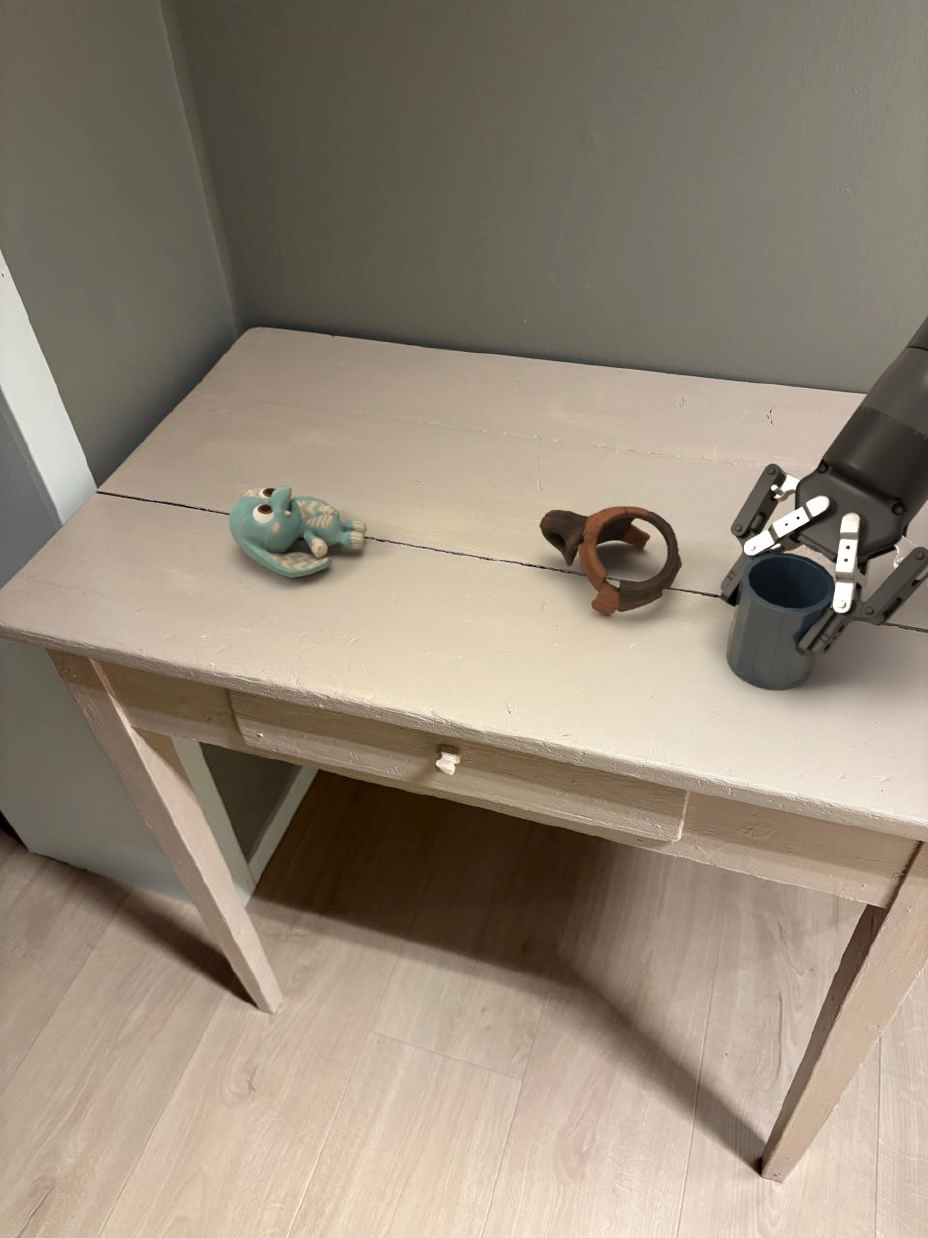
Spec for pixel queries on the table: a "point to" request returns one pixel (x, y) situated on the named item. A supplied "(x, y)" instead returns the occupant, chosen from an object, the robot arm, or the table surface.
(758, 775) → the table surface
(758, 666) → the cup
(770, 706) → the table surface
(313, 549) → the stuffed animal
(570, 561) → the brown broken clay pot
